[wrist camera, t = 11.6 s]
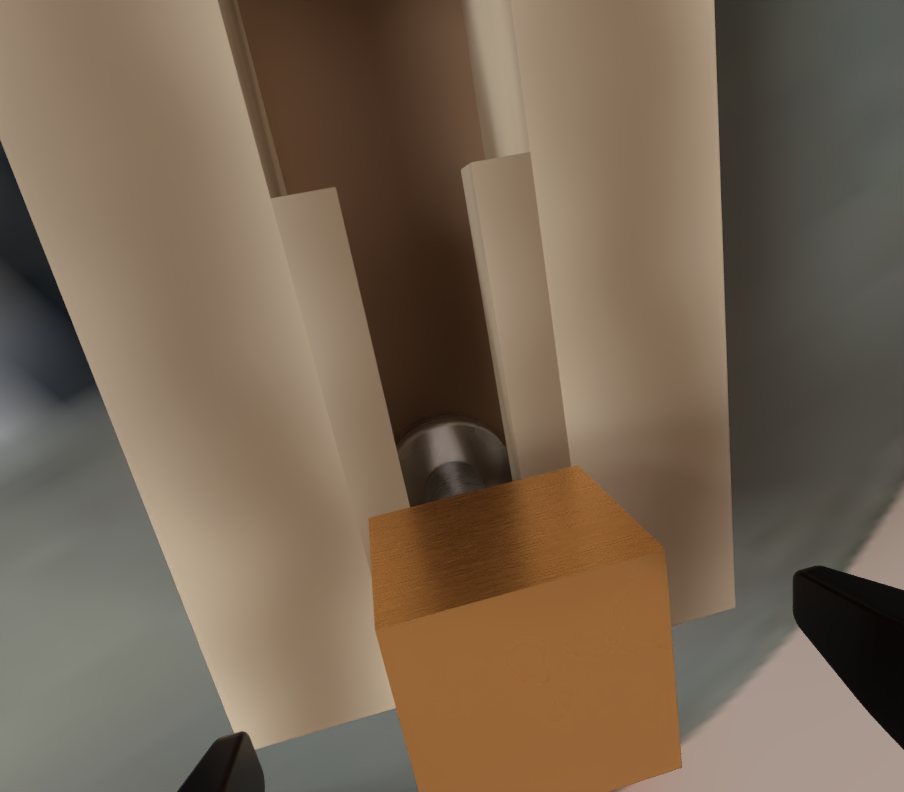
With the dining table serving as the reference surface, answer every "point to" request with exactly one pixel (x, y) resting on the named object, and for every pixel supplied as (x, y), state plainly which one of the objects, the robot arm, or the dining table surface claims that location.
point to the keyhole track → (377, 285)
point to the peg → (520, 623)
